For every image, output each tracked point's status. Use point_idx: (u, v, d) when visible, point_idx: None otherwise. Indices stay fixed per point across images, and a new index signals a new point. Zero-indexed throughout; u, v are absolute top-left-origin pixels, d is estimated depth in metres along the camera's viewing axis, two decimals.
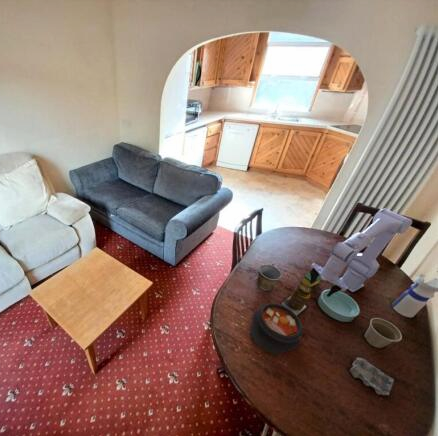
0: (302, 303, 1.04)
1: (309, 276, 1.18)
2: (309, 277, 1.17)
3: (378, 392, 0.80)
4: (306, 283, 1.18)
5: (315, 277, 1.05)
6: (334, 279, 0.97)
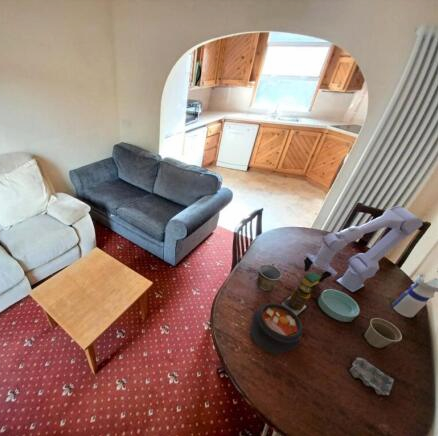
0: (302, 303, 1.04)
1: (309, 276, 1.18)
2: (309, 277, 1.17)
3: (378, 392, 0.80)
4: (306, 283, 1.18)
5: (309, 265, 1.18)
6: (325, 266, 1.09)
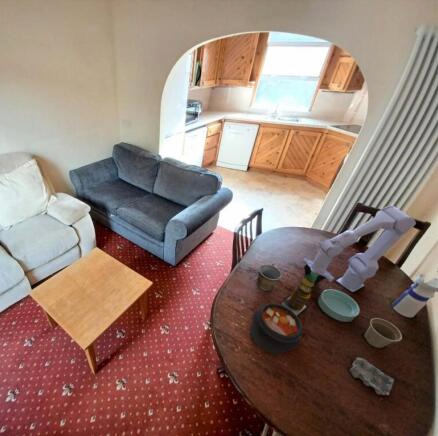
0: (302, 303, 1.04)
1: (309, 276, 1.18)
2: (309, 277, 1.17)
3: (378, 392, 0.80)
4: (306, 283, 1.18)
5: (308, 272, 1.19)
6: (322, 271, 1.11)
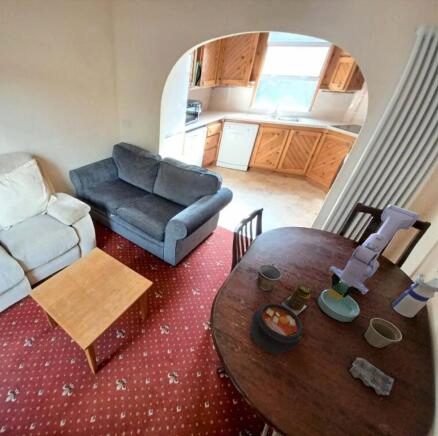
0: (302, 303, 1.04)
1: (337, 287, 1.03)
2: (338, 288, 1.03)
3: (378, 392, 0.80)
4: (334, 295, 1.04)
5: (337, 282, 1.05)
6: (354, 282, 0.97)
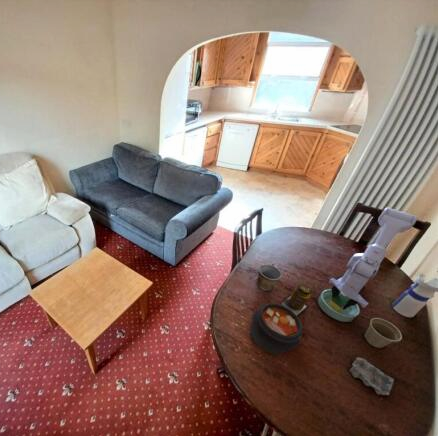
0: (302, 303, 1.04)
1: (337, 299, 1.04)
2: (338, 300, 1.04)
3: (378, 392, 0.80)
4: (334, 307, 1.05)
5: (337, 294, 1.05)
6: (354, 295, 0.98)
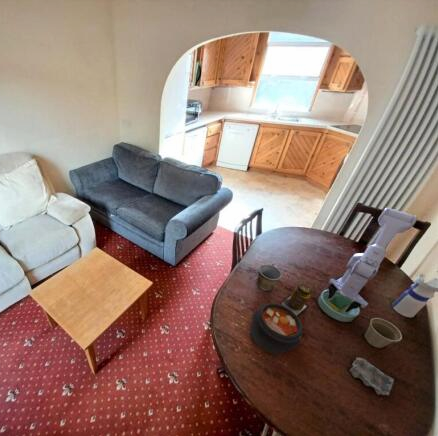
0: (302, 303, 1.04)
1: (336, 301, 1.05)
2: (336, 302, 1.04)
3: (378, 392, 0.80)
4: None
5: (333, 292, 1.07)
6: (354, 295, 0.98)
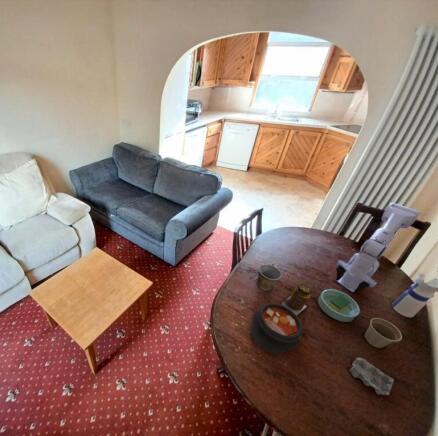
0: (302, 303, 1.04)
1: (336, 301, 1.05)
2: (336, 302, 1.04)
3: (378, 392, 0.80)
4: None
5: (341, 274, 1.07)
6: (362, 275, 0.99)
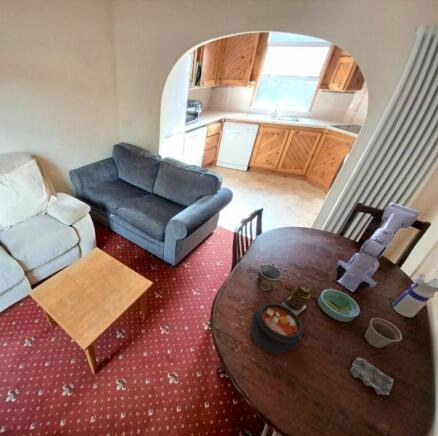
0: (302, 303, 1.04)
1: (336, 301, 1.05)
2: (336, 302, 1.04)
3: (378, 392, 0.80)
4: None
5: (341, 274, 1.07)
6: (362, 275, 0.99)
